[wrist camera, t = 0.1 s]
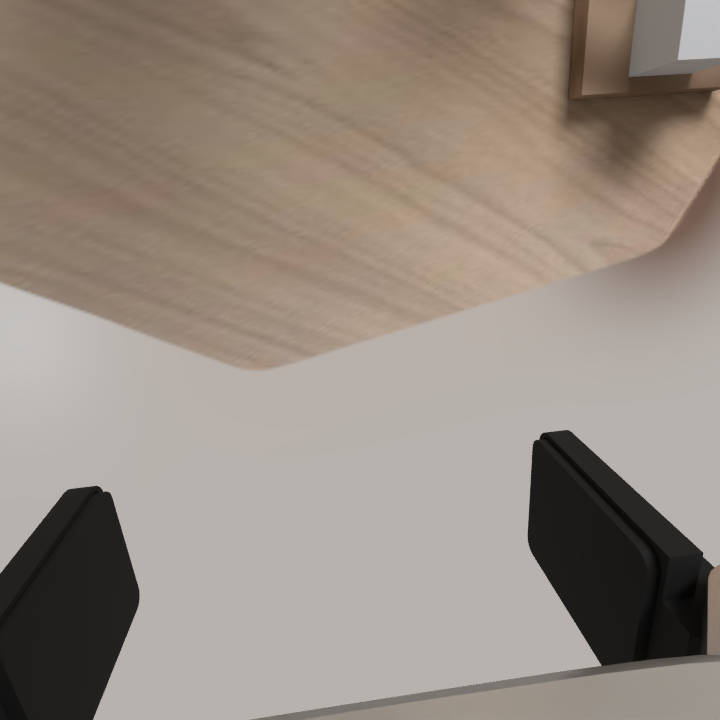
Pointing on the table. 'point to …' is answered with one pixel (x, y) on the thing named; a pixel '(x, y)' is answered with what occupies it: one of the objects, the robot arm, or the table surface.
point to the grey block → (675, 37)
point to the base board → (619, 56)
